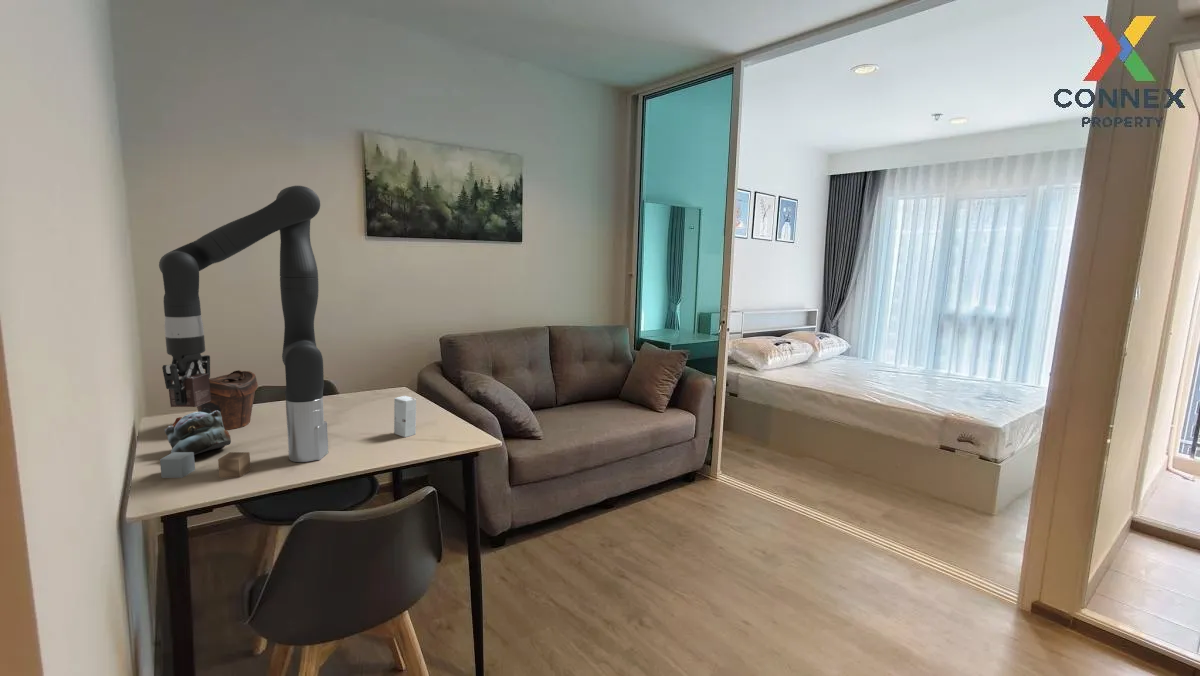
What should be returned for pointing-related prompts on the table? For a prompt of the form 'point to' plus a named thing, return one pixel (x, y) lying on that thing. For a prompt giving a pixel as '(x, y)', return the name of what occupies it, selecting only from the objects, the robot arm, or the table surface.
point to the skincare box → (405, 416)
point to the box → (194, 391)
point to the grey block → (177, 464)
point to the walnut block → (234, 464)
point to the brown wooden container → (232, 398)
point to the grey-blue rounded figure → (198, 432)
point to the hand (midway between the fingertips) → (190, 400)
